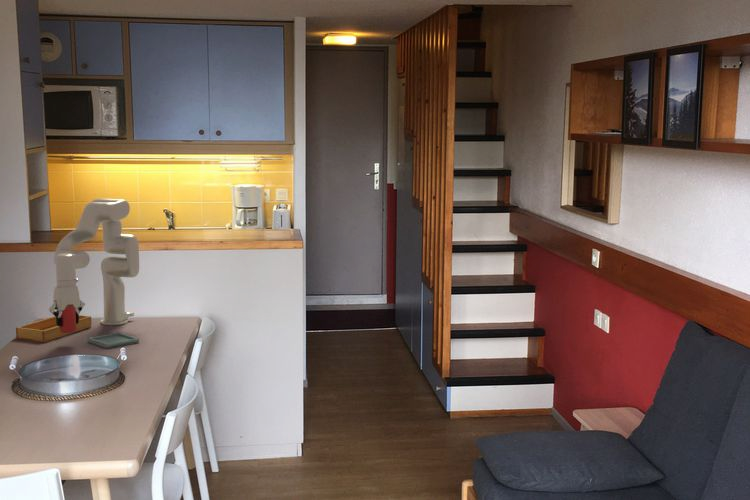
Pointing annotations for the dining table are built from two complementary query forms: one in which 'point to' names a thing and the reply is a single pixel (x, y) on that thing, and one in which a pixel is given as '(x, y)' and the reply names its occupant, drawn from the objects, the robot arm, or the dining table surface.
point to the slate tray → (113, 340)
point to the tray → (48, 329)
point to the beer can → (68, 319)
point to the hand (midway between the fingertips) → (67, 324)
